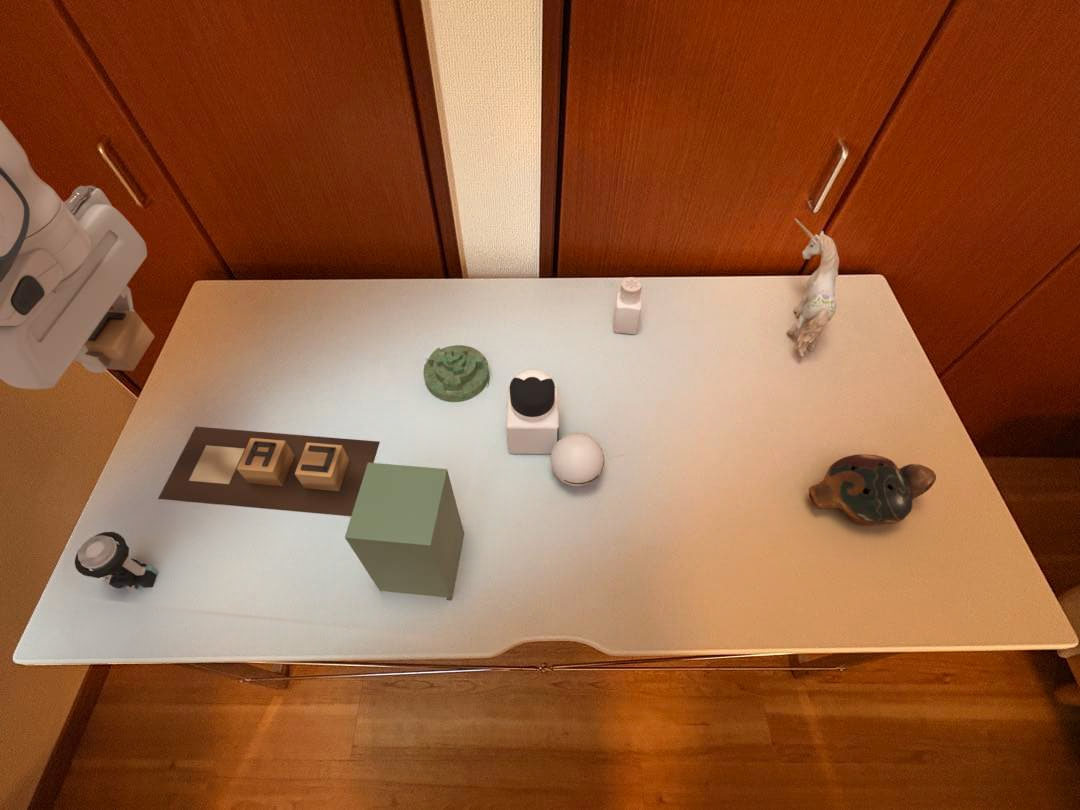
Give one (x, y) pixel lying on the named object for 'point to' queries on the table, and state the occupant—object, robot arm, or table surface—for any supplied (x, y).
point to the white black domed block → (532, 413)
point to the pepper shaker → (628, 306)
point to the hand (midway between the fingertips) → (116, 345)
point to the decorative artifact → (456, 373)
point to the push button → (113, 562)
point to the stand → (407, 529)
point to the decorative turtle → (871, 488)
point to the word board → (216, 480)
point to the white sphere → (577, 459)
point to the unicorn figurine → (817, 291)
